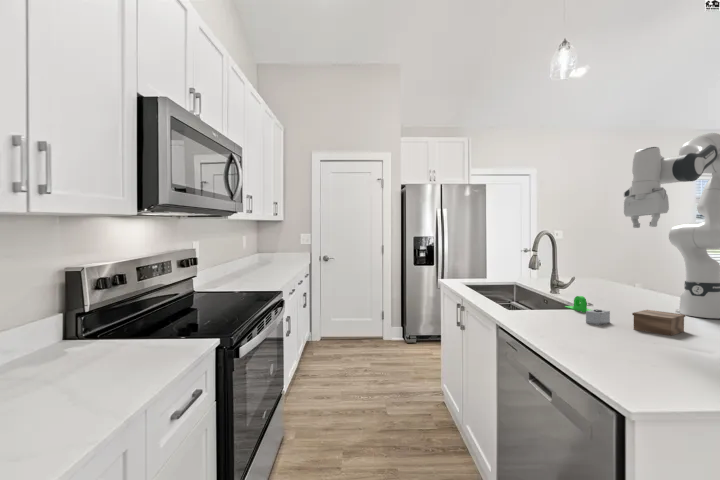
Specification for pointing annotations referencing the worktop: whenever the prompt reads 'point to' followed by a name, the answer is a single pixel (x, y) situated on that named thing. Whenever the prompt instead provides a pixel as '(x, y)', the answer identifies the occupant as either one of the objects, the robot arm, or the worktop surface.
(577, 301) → the mechanical part
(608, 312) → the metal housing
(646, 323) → the walnut stand
